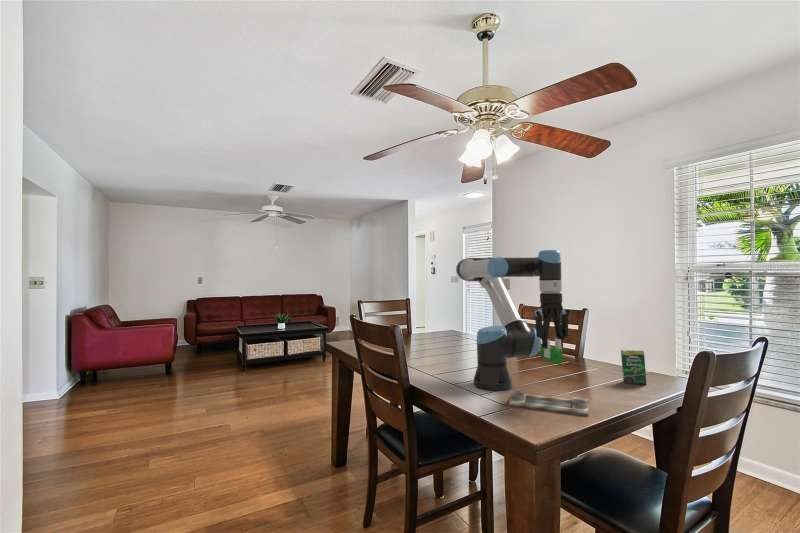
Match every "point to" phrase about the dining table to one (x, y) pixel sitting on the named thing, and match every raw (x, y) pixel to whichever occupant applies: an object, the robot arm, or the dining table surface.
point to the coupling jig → (549, 403)
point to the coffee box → (633, 367)
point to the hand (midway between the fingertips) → (553, 356)
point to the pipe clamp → (553, 355)
